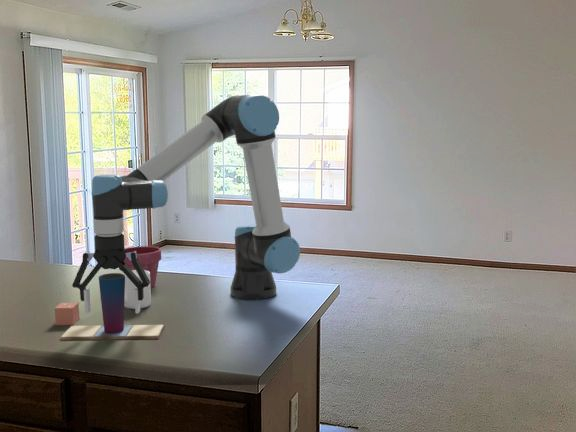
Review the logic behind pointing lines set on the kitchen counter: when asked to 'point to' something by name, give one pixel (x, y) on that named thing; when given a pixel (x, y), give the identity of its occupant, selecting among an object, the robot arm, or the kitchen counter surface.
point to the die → (67, 313)
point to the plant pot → (146, 260)
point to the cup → (112, 301)
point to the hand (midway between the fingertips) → (112, 312)
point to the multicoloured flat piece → (99, 333)
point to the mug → (130, 292)
